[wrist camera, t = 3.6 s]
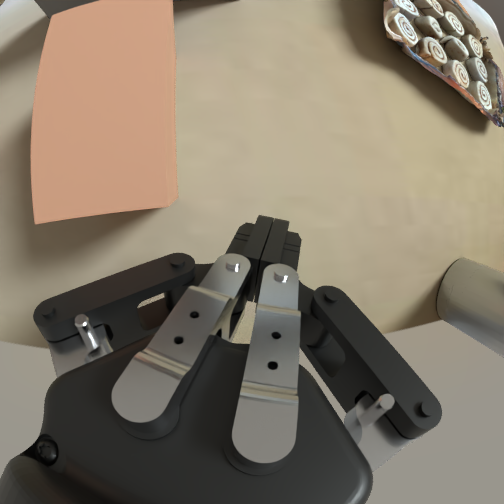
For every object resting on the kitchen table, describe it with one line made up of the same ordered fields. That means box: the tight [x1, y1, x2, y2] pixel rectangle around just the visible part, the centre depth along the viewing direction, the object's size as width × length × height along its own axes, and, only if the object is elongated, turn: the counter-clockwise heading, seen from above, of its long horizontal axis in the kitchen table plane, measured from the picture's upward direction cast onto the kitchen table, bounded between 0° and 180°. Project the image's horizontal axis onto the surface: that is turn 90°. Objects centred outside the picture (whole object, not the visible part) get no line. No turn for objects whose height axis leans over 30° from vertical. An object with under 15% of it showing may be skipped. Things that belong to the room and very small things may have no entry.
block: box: [31, 0, 178, 224], centre depth 14 cm, size 7×12×10 cm, turn 2°
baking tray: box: [384, 0, 504, 127], centre depth 20 cm, size 30×22×5 cm
